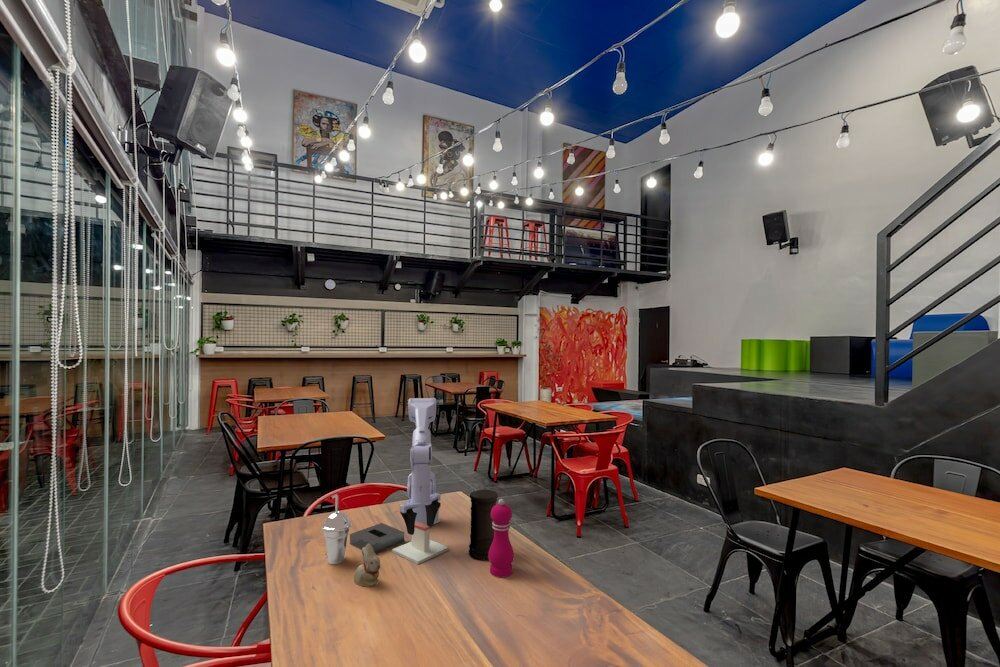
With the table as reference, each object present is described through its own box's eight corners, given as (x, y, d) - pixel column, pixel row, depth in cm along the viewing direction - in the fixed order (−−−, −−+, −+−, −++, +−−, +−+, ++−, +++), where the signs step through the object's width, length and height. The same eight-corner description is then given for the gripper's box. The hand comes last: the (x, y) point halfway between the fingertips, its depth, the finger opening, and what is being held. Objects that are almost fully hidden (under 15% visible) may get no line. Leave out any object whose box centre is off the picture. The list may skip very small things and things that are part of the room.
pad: (422, 539, 146) (422, 536, 146) (448, 549, 138) (448, 547, 138) (392, 552, 137) (392, 549, 137) (417, 564, 129) (418, 561, 129)
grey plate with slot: (381, 531, 152) (381, 522, 152) (404, 541, 144) (404, 532, 144) (349, 543, 142) (349, 534, 142) (372, 554, 135) (372, 544, 135)
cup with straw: (357, 557, 133) (358, 488, 134) (334, 570, 125) (335, 498, 126) (336, 551, 137) (337, 485, 137) (312, 564, 129) (313, 493, 129)
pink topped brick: (416, 544, 140) (416, 521, 140) (429, 550, 136) (429, 526, 137) (411, 546, 139) (411, 523, 139) (424, 552, 135) (424, 528, 135)
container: (499, 548, 140) (500, 489, 140) (496, 561, 131) (497, 499, 131) (471, 546, 141) (471, 488, 141) (466, 560, 132) (466, 497, 132)
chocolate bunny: (360, 591, 115) (360, 551, 115) (351, 578, 121) (352, 540, 121) (381, 585, 118) (382, 546, 118) (372, 572, 124) (372, 536, 124)
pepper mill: (511, 579, 121) (511, 504, 121) (485, 576, 122) (485, 502, 123) (516, 566, 128) (516, 495, 128) (491, 564, 129) (491, 493, 130)
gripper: (410, 493, 130) (410, 541, 130) (447, 482, 141) (446, 526, 141) (395, 488, 134) (395, 534, 134) (432, 477, 146) (431, 520, 145)
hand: (420, 529), depth 138 cm, fingers open, 7 cm apart
